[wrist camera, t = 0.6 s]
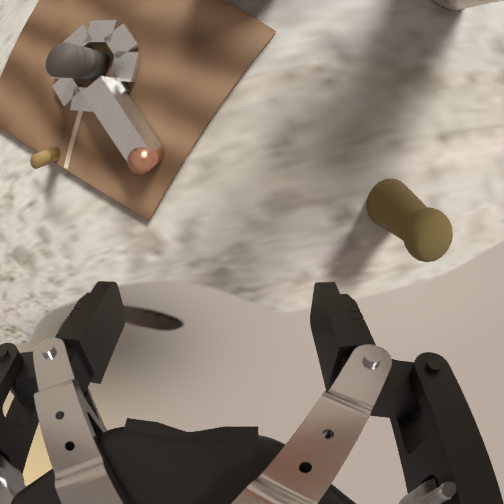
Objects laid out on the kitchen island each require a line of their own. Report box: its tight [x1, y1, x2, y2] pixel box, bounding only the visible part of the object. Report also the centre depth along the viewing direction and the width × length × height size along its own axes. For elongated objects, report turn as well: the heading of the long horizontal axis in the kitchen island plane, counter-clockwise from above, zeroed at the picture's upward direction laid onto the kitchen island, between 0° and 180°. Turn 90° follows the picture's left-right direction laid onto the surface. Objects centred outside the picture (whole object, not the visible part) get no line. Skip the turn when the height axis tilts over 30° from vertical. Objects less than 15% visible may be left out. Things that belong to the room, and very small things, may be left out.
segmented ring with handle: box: [51, 20, 164, 174], centre depth 23 cm, size 18×10×4 cm, turn 30°
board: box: [0, 0, 276, 220], centre depth 21 cm, size 24×28×9 cm
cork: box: [367, 179, 453, 262], centre depth 29 cm, size 6×6×11 cm
